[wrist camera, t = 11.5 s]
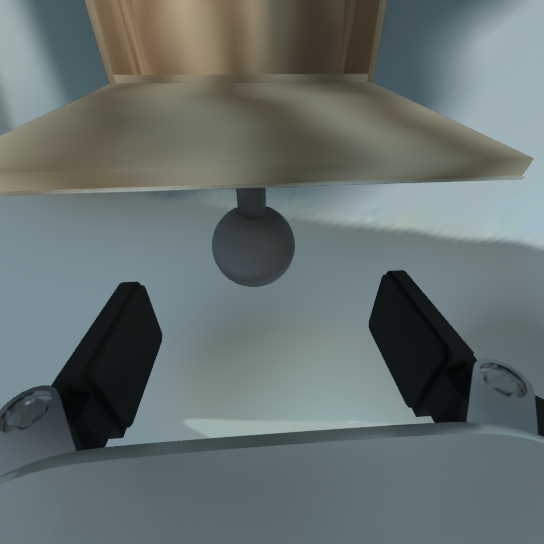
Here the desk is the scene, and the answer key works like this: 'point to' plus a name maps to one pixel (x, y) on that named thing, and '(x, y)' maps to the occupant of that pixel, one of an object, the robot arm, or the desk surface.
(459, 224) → the desk surface
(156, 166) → the wooden box lid
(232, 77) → the wooden box
